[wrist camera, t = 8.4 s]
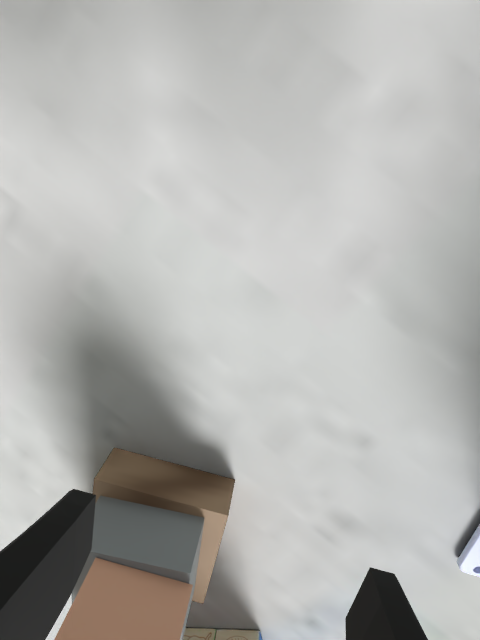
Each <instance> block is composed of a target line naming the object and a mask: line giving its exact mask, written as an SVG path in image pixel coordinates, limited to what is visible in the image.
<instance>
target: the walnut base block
mask: <svg viewBox="0 0 480 640" xmlns="http://www.w3.org/2000/svg"><path fill="white" fill-rule="evenodd" d="M234 483H235V480H234V479H231V478H227V477H223V476H219V475H216V474H212V473H208V472H204V471H201V470H197V469H193V468H189V467H186V466H182V465H178V464H174V463H171V462H167V461H163V460H160V459H156V458H152V457H148V456H145V455H141V454H137V453H133V452H130V451H126V450H122V449H118V448H115V447H114V448H113V450H112V452H111V453H110V455H109V456H108V458H107V459H106V461H105V463H104V464H103V466H102V467H101V469H100V470H99V472H98V474H97V475H96V477H95V478H94V484H93V494H94V495H96V502H97V500H98V498H99V497H100V496H105V497H110V498H114V499H119V500H124V501H129V502H133V503H138V504H143V505H147V506H152V507H157V508H161V509H166V510H171V511H175V512H180V513H185V514H190V515H194V516H199V517H204V518H205V519H204V526H203V533H202V540H201V547H200V554H199V561H198V568H197V575H196V582H195V589H194V594H193V598H192V601H194V602H198V603H201V604H203V603H204V599H205V596H206V592H207V588H208V585H209V581H210V578H211V574H212V571H213V567H214V564H215V560H216V557H217V553H218V550H219V546H220V543H221V539H222V536H223V532H224V529H225V525H226V522H227V518H228V514H229V509H230V503H231V498H232V493H233V488H234ZM96 502H95V503H96Z"/></svg>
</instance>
